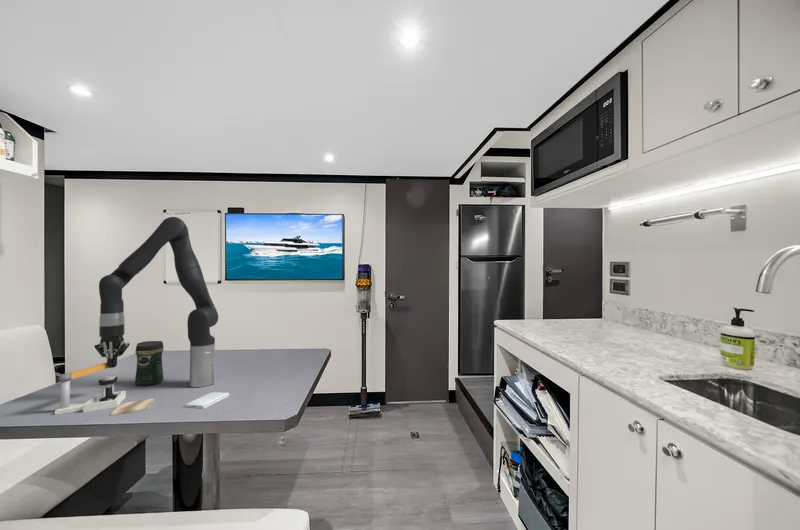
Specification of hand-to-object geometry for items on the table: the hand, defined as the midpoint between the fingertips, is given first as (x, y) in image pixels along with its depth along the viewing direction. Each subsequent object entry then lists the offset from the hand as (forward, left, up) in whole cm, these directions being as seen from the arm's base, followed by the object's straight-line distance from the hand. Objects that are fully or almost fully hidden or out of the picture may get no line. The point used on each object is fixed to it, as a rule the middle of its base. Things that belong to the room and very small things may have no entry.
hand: (112, 367), depth 127 cm
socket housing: (+3, +11, -11) cm, 16 cm away
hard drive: (-35, +27, -12) cm, 46 cm away
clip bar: (+6, +5, 0) cm, 8 cm away
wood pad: (-11, +20, -11) cm, 26 cm away
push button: (-1, +11, -11) cm, 16 cm away
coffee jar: (-10, -11, -11) cm, 18 cm away
